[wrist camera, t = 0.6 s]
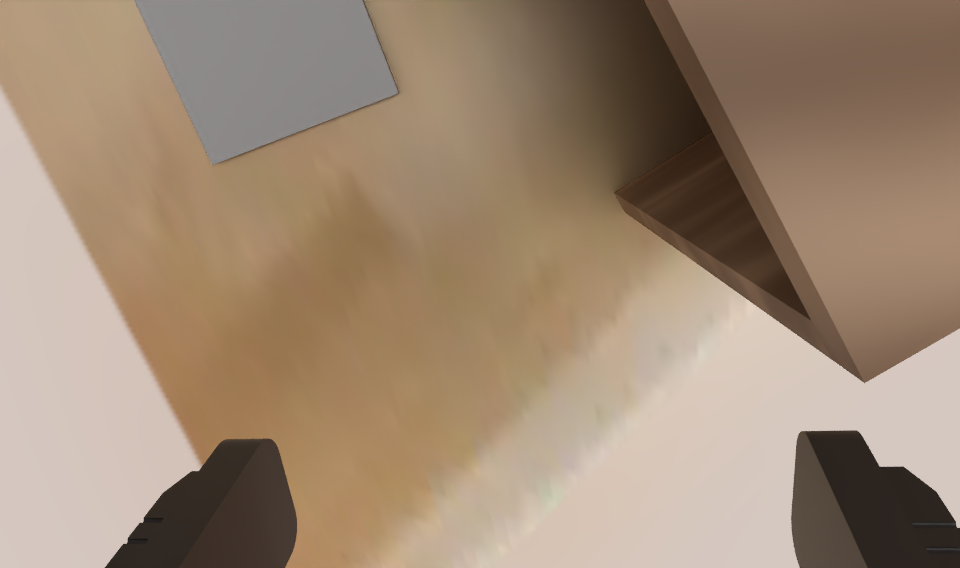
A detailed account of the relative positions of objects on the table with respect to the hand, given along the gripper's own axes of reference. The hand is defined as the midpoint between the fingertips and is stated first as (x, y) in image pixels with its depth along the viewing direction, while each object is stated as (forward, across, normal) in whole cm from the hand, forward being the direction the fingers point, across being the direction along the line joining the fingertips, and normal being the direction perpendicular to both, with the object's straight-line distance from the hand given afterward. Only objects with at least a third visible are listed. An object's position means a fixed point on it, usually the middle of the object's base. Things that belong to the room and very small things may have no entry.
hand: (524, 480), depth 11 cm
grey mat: (+20, +11, -6) cm, 23 cm away
